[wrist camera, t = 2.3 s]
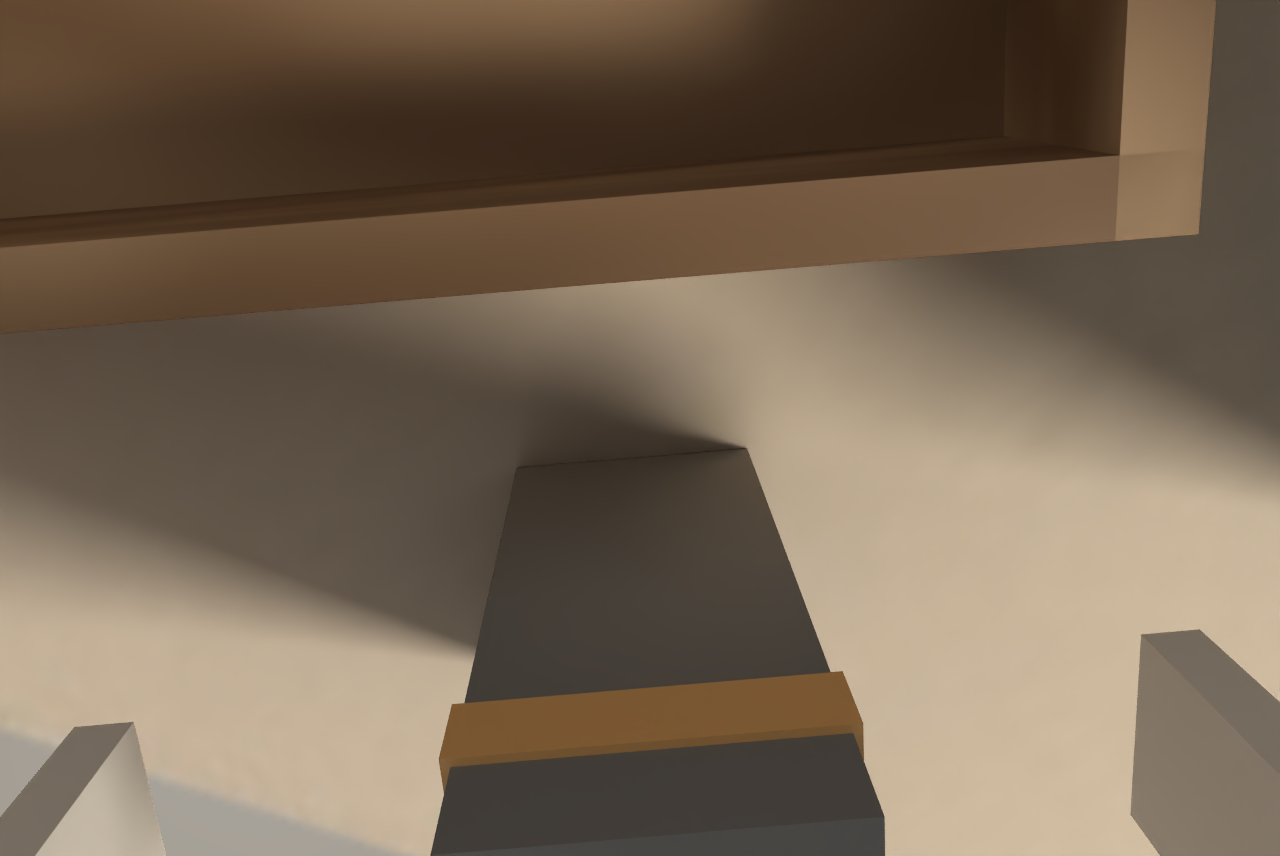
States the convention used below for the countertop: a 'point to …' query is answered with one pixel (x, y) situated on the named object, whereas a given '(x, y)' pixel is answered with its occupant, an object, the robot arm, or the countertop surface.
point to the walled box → (568, 143)
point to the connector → (651, 679)
